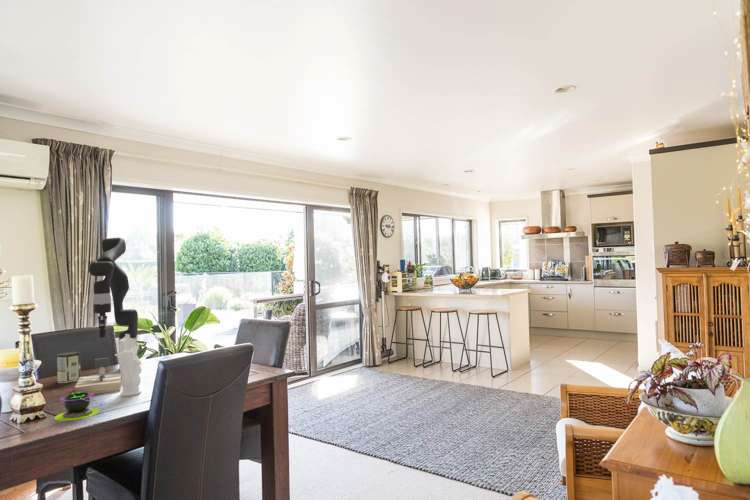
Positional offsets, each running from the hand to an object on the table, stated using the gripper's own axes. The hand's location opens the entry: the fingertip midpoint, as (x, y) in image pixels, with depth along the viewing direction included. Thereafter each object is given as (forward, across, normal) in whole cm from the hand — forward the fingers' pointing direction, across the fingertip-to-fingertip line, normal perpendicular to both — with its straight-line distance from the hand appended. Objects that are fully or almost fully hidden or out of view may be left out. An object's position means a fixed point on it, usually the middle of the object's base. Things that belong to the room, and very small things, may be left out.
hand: (102, 336), depth 233 cm
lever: (+20, +3, -1) cm, 20 cm away
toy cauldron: (+24, +47, -7) cm, 53 cm away
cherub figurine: (+24, +23, +10) cm, 35 cm away
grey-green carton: (+24, -24, -16) cm, 38 cm away
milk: (+24, -17, +11) cm, 31 cm away
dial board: (+24, +3, -2) cm, 24 cm away
